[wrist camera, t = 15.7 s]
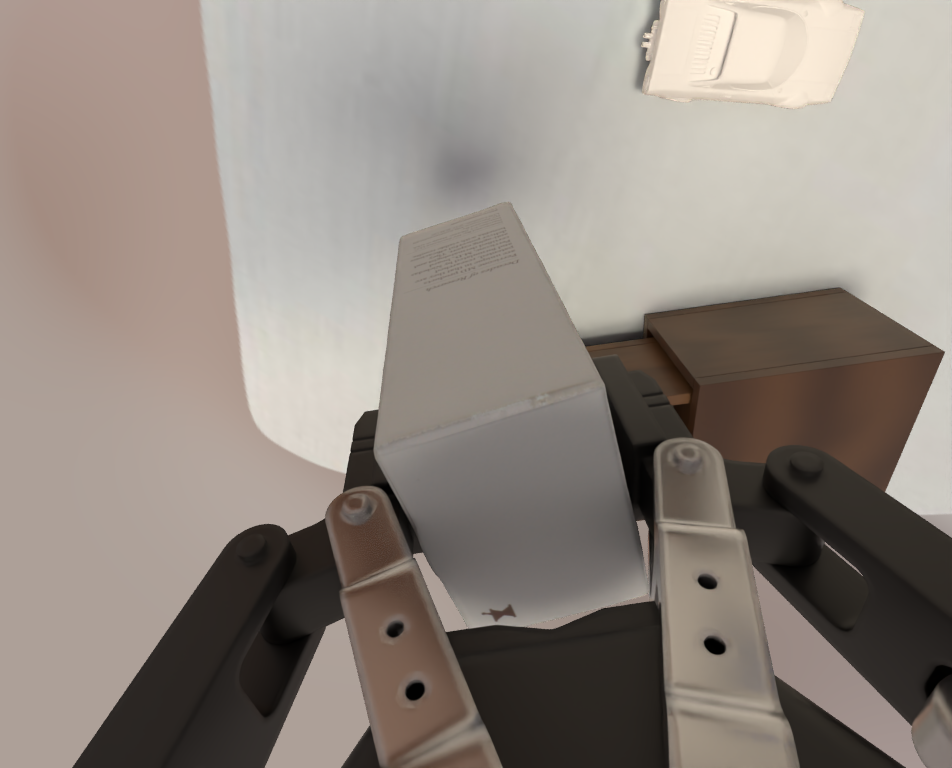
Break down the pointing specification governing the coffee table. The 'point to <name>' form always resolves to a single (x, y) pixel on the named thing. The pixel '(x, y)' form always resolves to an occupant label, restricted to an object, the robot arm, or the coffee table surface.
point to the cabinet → (800, 377)
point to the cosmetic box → (502, 431)
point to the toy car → (750, 50)
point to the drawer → (652, 369)
